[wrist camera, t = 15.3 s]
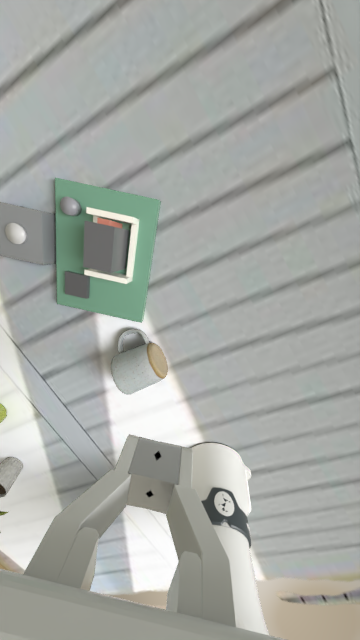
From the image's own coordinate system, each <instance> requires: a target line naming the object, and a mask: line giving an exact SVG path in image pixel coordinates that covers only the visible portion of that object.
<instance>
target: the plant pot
mask: <svg viewBox="0 0 360 640" xmlns="http://www.w3.org/2000/svg"><path fill="white" fill-rule="evenodd" d="M6 416H7V415H6V409H5V407H4V406H3V405H2V404H0V423H1V422H2V421H3V420H4V418H5V417H6Z"/></svg>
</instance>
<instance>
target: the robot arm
mask: <svg viewBox="0 0 360 640" xmlns="http://www.w3.org/2000/svg"><path fill="white" fill-rule="evenodd" d="M250 478H251V471H250V469H249V468H248V467H247V466H245V465H244V463H243V461H242V459H241V457H240V455H239V454H238V453H237V452H236V451H235V450H233V449H232V448H230V447H228V446H225V445H222V444H218V443H204V444H199V445H196V446H194V447H192V448H186V447H181V446H178V445H173V444H168V443H164V442H157V441H154V440H150V439H146V438H142V437H138V436H134V435H130V434H129V436H128V437H127V439H126V442H125V445H124V447H123V450H122V452H121V455H120V457H119V460H118V462H117V465H116V468H115V470H110V471H109V472H108V473H106V474H105V475H104V476H103V477H102V478H101V479H99V480H98V481H97V482H96V483H95V484H94V485H92V486H91V487H90V488H89V489H88V490H87V491H85V492H84V493H83V494H82V495H81V496H79V497H78V498H77V499H76V500H75V501H74V502H72V503H71V504H70V505H69V506H68V507H67V508H65V509H64V510H63V511H62V512H61V513H60V514H58V515H57V516H56V517H55V518H54V520H53V522H52V523H51V525H50V527H49V529H48V531H47V532H46V534H45V536H44V538H43V540H42V541H41V543H40V545H39V547H38V549H37V550H36V552H35V554H34V556H33V558H32V560H31V561H30V563H29V565H28V567H27V569H26V570H25V572H24V574H19V573H15V572H11V571H7V570H3V569H0V640H286V639H282V638H278V637H274V636H270V635H269V632H268V629H267V626H266V623H265V620H264V616H263V613H262V608H261V603H260V599H259V594H258V590H257V585H256V580H255V575H254V570H253V564H252V559H251V553H250V547H251V539H250V528H249V525H248V520H247V516H248V514H249V512H251V503H250V496H249V488H248V480H249V479H250ZM126 505H131V506H136V507H141V508H147V509H150V510H153V511H157V512H161V513H164V514H166V516H167V520H168V524H169V527H170V531H171V534H172V538H173V542H174V545H175V549H176V553H177V556H178V560H179V563H178V565H177V568H176V571H175V574H174V577H173V579H172V582H171V585H170V588H169V591H168V596H167V606H166V610H165V609H161V608H157V607H153V606H148V605H144V604H140V603H136V602H132V601H128V600H124V599H120V598H116V597H112V596H108V595H104V594H100V593H96V592H92V591H90V587H91V584H92V581H93V578H94V574H95V565H96V556H97V547H98V540H99V538H100V537H101V536H102V535H103V534H104V532H105V531H106V530H107V529H108V527H109V526H110V525H111V524H112V523H113V521H114V520H115V519H116V518H117V517H118V515H119V514H120V513H121V512H122V511H123V509H124V508H125V507H126Z"/></svg>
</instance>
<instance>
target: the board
mask: <svg viewBox="0 0 360 640" xmlns="http://www.w3.org/2000/svg"><path fill="white" fill-rule="evenodd" d="M55 200H56V263H57V304H61V305H65V306H70V307H74V308H79V309H83V310H87V311H92V312H96V313H101V314H105V315H110V316H114V317H119V318H123V319H128V320H132V321H136V322H141V323H142V321H143V318H144V312H145V305H146V298H147V291H148V284H149V278H150V271H151V264H152V257H153V251H154V244H155V237H156V230H157V223H158V217H159V210H160V203H161V201H160V200H157V199H152V198H148V197H143V196H138V195H134V194H129V193H124V192H120V191H115V190H110V189H106V188H101V187H96V186H92V185H87V184H82V183H78V182H73V181H68V180H64V179H59V178H55ZM97 218H102V219H107V220H111V221H114V222H117V223H121V224H123V225H122V229H126V230H130V231H129V241H128V250H127V260H126V269H123V270H119V271H116V272H113V273H109V272H104V271H99V270H95V269H90V268H86V267H83V258H84V224H85V221H90V222H94V223H97Z"/></svg>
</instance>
